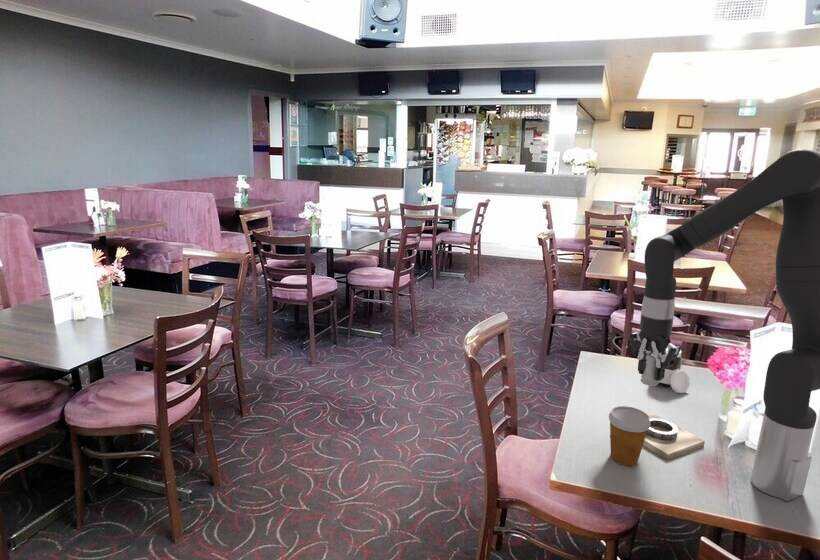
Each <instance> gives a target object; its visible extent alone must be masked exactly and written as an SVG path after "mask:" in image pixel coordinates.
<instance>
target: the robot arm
mask: <svg viewBox="0 0 820 560" xmlns="http://www.w3.org/2000/svg"><path fill="white" fill-rule="evenodd" d="M781 200H782V213H783V215H782V219H783V220H782V226H781V232H780V234H779V238H778V244H777V248H776V254H775V285H776V291H777V294H778V297H779V299H780V300H781V303H782V304H783V306H784V308H785V310H786V312H787V314H788V316H789V318H790V321H791V328H792V344H791V349H788V350H782V351H780V352H778V353H776V354H774V355H773V356H772V357H771V359H770V360H769V362H768V365H767V370H766V374H765V375H766V376H765V382H764V387H763V388H764V390H763V396H762V397H763V403H764V412H763V417H762V421H761V426H760V431H759V436H758V442H757V445H756V446H757V447H756V451H755V456H754V462H753V465H752V466H753V467H752V469H751V475H750V481H751V484H752V485H753V486H754V487H755V488H756V489H758V490H759V491H761V492H763V493H765V494H766V495H770V496H771V497H774V498H775V497H776V498H778V499H782V500H784V501H786V502H790V501H792V500H794V499H795V498H798V497H800V496H802V495H804V492H805V488H806V487H805V486H806V483H807V478H808V475H809V470H810V466H811V462H812V456H811V455H809V452H810V448H811V442H812V438H813V434H814V431H815V426H816V422H817V417H818V416H817V412H816V411H815V409H814V408H812V406H810V399H811V395H812V392H815V391H817V390H820V153H818V152H816V151H813V150H811V149H805V148H804V149H803V148H798V149H793V150H790V151H787V152H785V153H783V154H781V155H780V156H779V158H777V159H776V160H775V161H774V162H772V163H771V164H770V165H769V166H767V167H766V168H765V169H764V170H762V171H761V172H760V173H759V174H757V176H755V177H754V178H752V179H751V180H750V181H748V182H747V183H746V184H744V185H743V186H741V187H740V188H739V189H736V190H735V191H734V192H732V193H730V194H729V195H727V196H725V197H723V198H722V199H720V200H719V201H716V202H715V203H713V204H712V205H710V206H708V207H706V208H704V209H703V210H701V211H699V212H697V213H696V214H694V215H693V216H691V217H690V218H688V219H686V220H685V221H684V222H683V223H682V224H681V225H679V226H678V227H675V228H674V229H672V230H671V231H669V232H667V233H665V234H663V235H660V236H657V237H654V238H652V239H650V241H649V242H648V243H647V245H646V247H645V251H644V271H645V276H646V277H645V278H646V279H645V284H644V295H643V299H642V303H641V310H640V311H641V312H640V321H639V330H640V331H638V332H631V333H630V334H629V341H630V347H631V354H632V356H634V357H636V358H637V360H638V363H637V371H638V374H639V375H642V374H643V373H644V371H645V369H646V361H647V359H646V357H645V356H646V355H647V353H650V352H651V353H652V354H654V358H655V359H656V365H657V367H656V371H655V380H656V381H660V380H662V379H663V378H664V375H665V368H667V367H671V366H673V365H674V363H675V361H676V359H677V356H678V354H679V352H680V350H681V349H682V348H681V347H680V346H676V345H674V344H673V343H672V341H671V337H670V336H671V334H672V332H673V324H674V314H675V306H676V303H675V298H676V289H677V278H676V276H675V275H674V267H675V266H674V265H675V262H676V261H678V260H680V259H681V258H683V257H685V256H686V255H687V254H689V253H691V252H692V251H694V250H696V248H699V247H702V246H703V245H706V244H708V243H709V242H712V241H713V240H715V239H717V238H718V237H721V236H722V235H724V234H726V233H727V232H729V231H731V230H732V229H734V228H735V227H737V226H738V225H740V224H741V223H742V222H743V221H745V220H747V218H749V217H751V216H752V215H754V214H755V213H757V212H759V211H760V210H762V209H764V208H766V207H767V206H769V205H772V204H774V203H776V202H779V201H781ZM667 348H668V351H667V352H668V355H667V352H666V349H667ZM681 351H682V350H681ZM659 353H661V354H660V355H659Z"/></svg>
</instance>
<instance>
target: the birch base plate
mask: <svg viewBox="0 0 820 560" xmlns="http://www.w3.org/2000/svg"><path fill="white" fill-rule="evenodd" d="M647 415H648V416H649V418H659V419H663V420H666V419H664V418H663V417H661V416H659V415H657V414H655V413H653V412H651V413H649V414H647ZM676 427H677V428H678V434H677V438H676V439H674V440H671V441H664V440H659V439H655V438H652V437H650V436H649V435H647V434H646V437H645V440H644V443H643V446H644V447H646V448H648V449H649V450H651V451H652V452H654V453H655V454H658V455H659V456H661V458H663V459H666V460H667V461H668V460H670V459H672V458H675V457H678V456H681V455H683V454H686V453H689V452H691V451H694V450H697V449H699V448H703V447H705V444H706V443H705V440H704V439H702V438H700V437H698V436H696V435H695V434H693V433H691V432H689V431H687V430H685V429H683V428H681V427H680V426H678V425H676ZM651 428H653V429H655V430H658V431H661V432H670V431H669V430H667V429H665V428H662V427H656V426H652V427H651Z"/></svg>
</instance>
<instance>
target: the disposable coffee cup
mask: <svg viewBox="0 0 820 560" xmlns="http://www.w3.org/2000/svg"><path fill="white" fill-rule="evenodd" d="M608 419H609V429H610V430H609V435H610V436H609V439H610V440H609V442H610V444H609V445H610V449H609V450H610V459H611V460H612V461H613V462H615V463H617V464H619V465H621V466H625V467H634V466H636V465H637V464H638V463H639V459H640V455H641V452H642V450H643V449H642V448H643V446H644V445H643V443H644V440H645V437H646V433H647V430H648V429H649V427H650V425H651V422H650V420H649V416H648V414H647V413H646V412H644V411H643V410H641V409H639V408H636V407H632V406H625V405H623V406H622V405H621V406H616V407H614V408H613V407H612V409H611V411H610V412H609V413H608Z"/></svg>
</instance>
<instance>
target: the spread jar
mask: <svg viewBox="0 0 820 560" xmlns="http://www.w3.org/2000/svg"><path fill="white" fill-rule="evenodd" d="M667 351H668V348H667V349H666V352H667ZM660 354H661V353H659V355H660ZM667 355H668V352H667ZM682 365H683V358H682V350H680V352H679V354H678V356H677V359H676V361H675V363H674V365H673V366H671V367H667V368H665V375H664V378H663V379H662V380H660V381H658V382H659V384H657V385H656V386H659V387H663V388H668V389H669V388H671V389H672V390H673V391H674V392H675V393H677V394H678V393H680V394H684V393H686V392H687V391H688V390H689V387H690V384H691V383H690V382H691V381H690V376H689V375H688V373H687V372H686V371H684V370H682V367H683V366H682ZM656 367H657V366H656Z"/></svg>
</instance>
